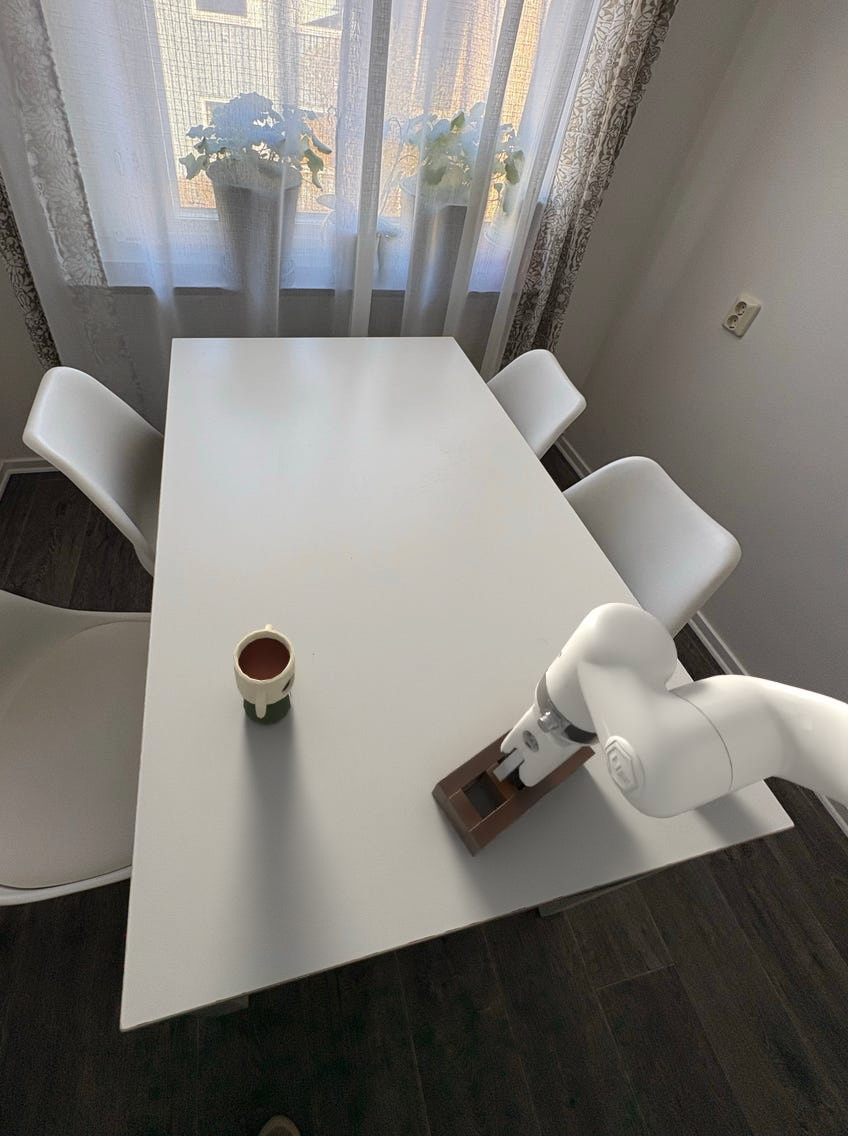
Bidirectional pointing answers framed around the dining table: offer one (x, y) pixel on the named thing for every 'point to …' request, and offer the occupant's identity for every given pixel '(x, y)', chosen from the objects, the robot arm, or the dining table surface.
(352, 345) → the dining table surface
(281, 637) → the character mug
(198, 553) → the dining table surface
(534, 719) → the robot arm
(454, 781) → the holder
